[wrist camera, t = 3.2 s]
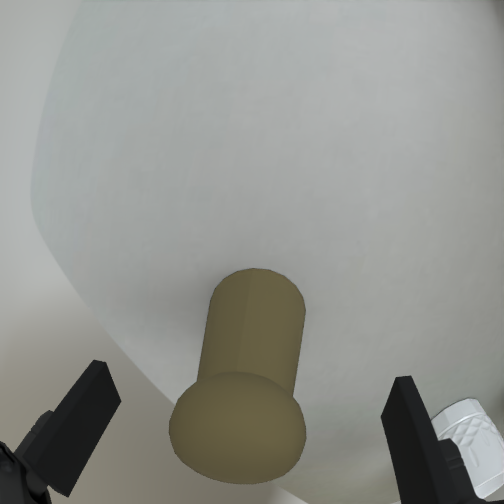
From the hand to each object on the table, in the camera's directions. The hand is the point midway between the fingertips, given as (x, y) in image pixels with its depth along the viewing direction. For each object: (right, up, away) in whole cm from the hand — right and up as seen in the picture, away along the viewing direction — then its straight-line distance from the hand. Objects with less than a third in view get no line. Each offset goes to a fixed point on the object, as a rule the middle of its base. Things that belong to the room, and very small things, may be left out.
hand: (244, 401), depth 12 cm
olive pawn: (+1, +3, +7) cm, 7 cm away
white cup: (+21, -11, +10) cm, 25 cm away
